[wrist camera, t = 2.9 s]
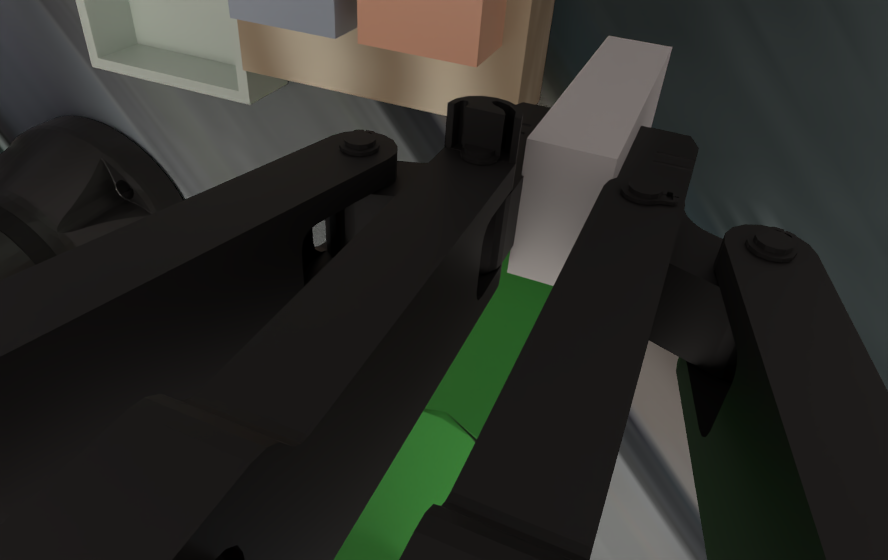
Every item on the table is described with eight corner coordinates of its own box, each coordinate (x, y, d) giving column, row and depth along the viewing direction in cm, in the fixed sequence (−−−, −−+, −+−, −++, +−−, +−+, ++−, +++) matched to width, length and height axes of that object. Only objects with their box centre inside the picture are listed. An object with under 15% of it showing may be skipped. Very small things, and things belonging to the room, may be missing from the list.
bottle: (451, 197, 37) (109, 602, 18) (610, 211, 34) (397, 723, 15) (464, 324, 42) (204, 751, 23) (605, 348, 39) (437, 866, 20)
